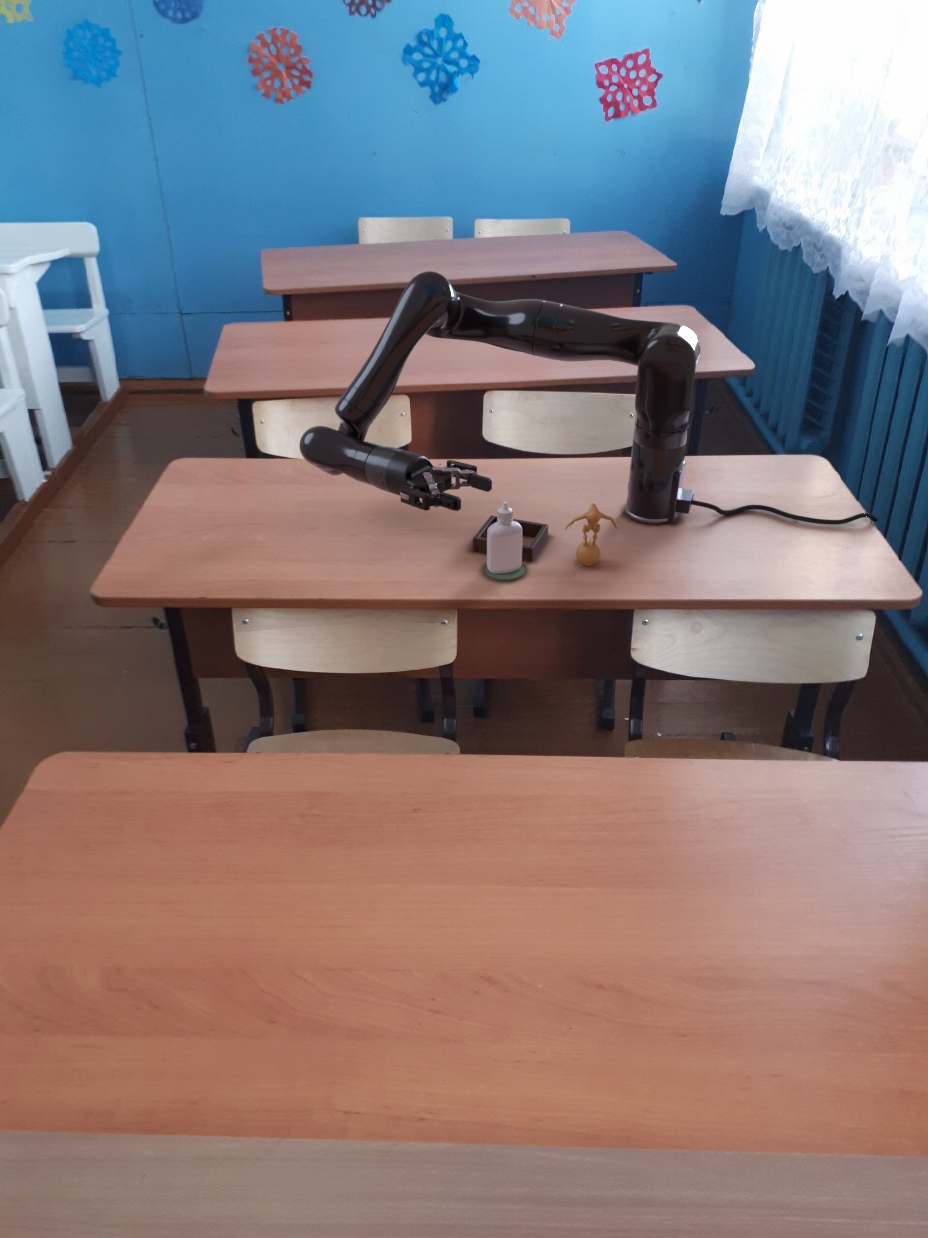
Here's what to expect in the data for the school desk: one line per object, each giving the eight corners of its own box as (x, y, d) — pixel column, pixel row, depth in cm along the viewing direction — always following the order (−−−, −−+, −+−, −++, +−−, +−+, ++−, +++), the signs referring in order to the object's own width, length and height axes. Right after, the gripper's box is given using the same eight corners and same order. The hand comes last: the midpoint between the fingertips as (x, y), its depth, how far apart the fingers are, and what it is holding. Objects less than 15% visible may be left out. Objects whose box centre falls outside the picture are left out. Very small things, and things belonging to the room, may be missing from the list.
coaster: (529, 564, 145) (529, 562, 145) (517, 583, 140) (517, 581, 140) (493, 558, 147) (493, 556, 147) (480, 576, 142) (480, 574, 142)
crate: (547, 537, 153) (548, 524, 152) (532, 561, 146) (532, 548, 145) (490, 527, 156) (491, 515, 155) (473, 551, 149) (472, 538, 148)
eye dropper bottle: (519, 576, 141) (521, 509, 135) (485, 573, 142) (485, 507, 135) (522, 563, 145) (524, 497, 138) (489, 560, 146) (489, 495, 139)
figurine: (610, 557, 147) (616, 492, 140) (615, 575, 142) (622, 509, 135) (560, 558, 147) (564, 493, 140) (564, 576, 142) (568, 510, 135)
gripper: (368, 465, 142) (448, 489, 134) (423, 437, 151) (500, 458, 143) (372, 507, 146) (449, 532, 138) (424, 477, 155) (500, 499, 147)
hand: (475, 494), depth 140 cm, fingers open, 8 cm apart
